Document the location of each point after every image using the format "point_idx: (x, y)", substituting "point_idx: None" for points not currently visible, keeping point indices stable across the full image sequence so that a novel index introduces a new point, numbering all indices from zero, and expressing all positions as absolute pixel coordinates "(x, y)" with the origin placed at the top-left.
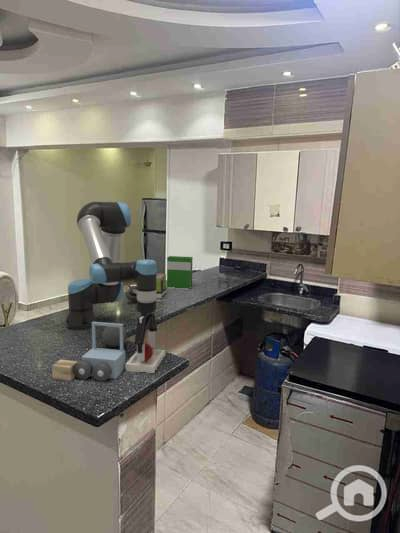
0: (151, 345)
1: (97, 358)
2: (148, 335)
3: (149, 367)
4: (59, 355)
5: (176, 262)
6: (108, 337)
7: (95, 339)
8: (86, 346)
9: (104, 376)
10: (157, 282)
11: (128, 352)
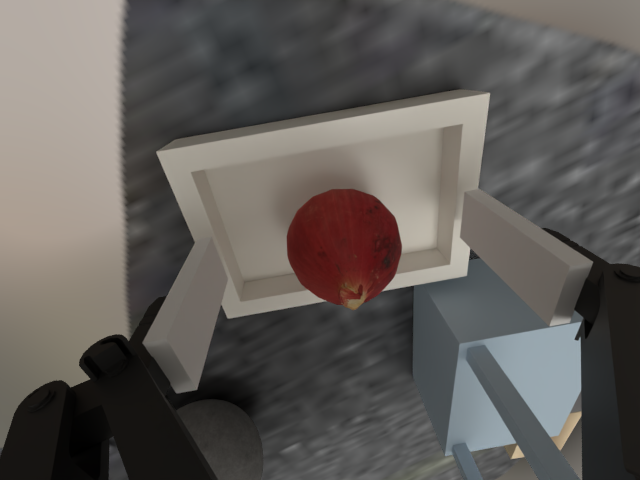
0: (217, 264)
1: (580, 389)
2: (206, 348)
3: (480, 129)
4: (371, 466)
5: None
6: (261, 470)
7: None
8: (273, 458)
9: None
10: None
11: (244, 339)
